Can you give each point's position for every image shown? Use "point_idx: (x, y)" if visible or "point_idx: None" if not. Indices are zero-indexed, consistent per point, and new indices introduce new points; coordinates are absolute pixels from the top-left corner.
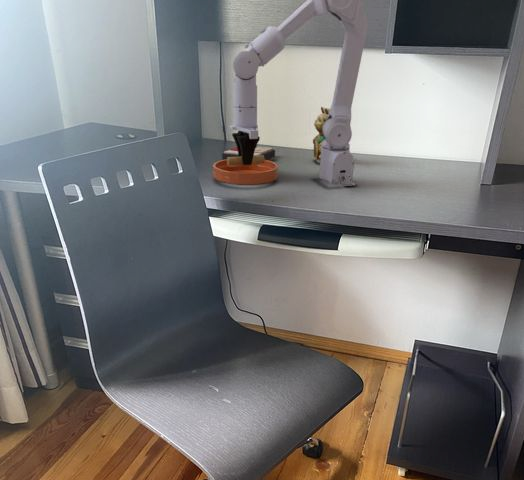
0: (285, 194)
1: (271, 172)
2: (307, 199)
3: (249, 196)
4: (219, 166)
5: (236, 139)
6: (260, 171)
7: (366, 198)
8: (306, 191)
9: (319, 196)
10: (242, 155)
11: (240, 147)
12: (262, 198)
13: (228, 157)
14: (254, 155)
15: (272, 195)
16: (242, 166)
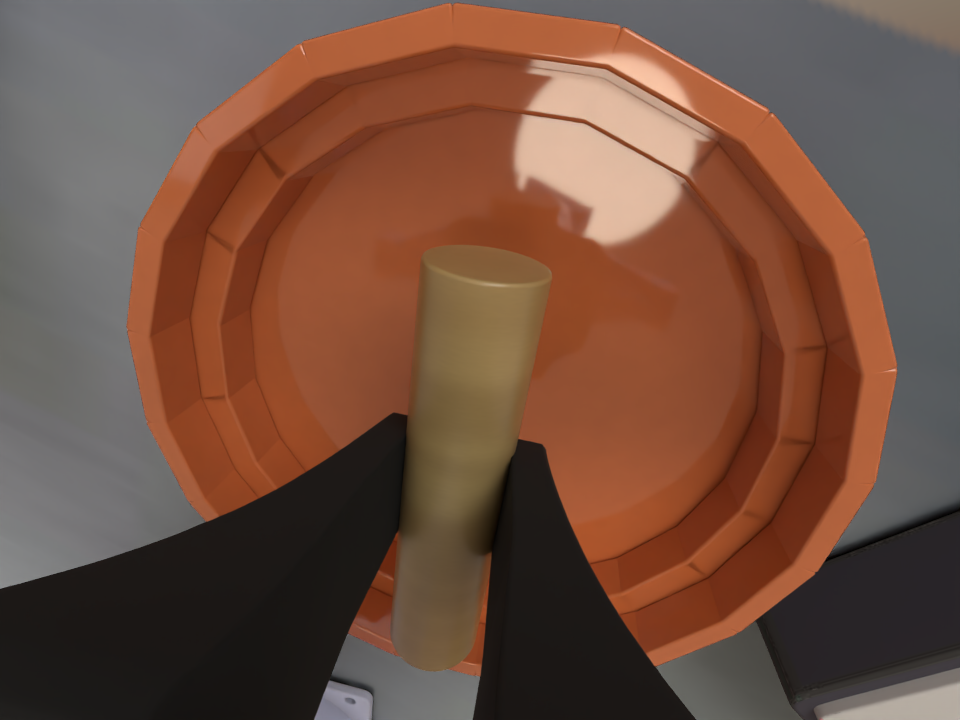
0: (97, 425)
1: None
2: (2, 468)
3: (51, 183)
4: (801, 242)
5: (496, 693)
6: None
7: None
8: (151, 543)
9: (58, 540)
10: (328, 460)
11: (298, 533)
12: (4, 251)
13: (462, 285)
14: (834, 710)
15: (77, 347)
16: (729, 499)
